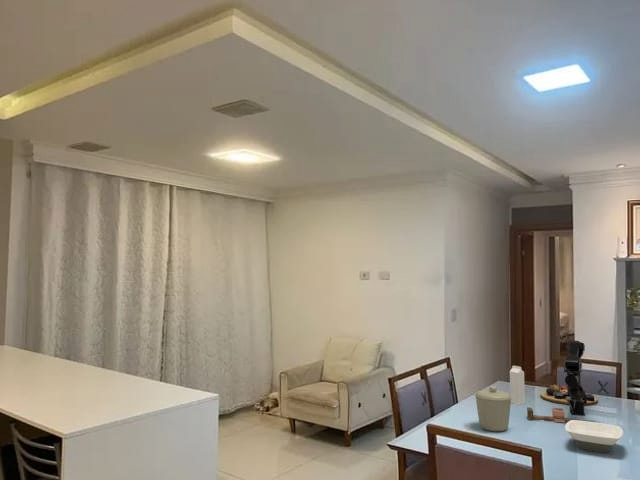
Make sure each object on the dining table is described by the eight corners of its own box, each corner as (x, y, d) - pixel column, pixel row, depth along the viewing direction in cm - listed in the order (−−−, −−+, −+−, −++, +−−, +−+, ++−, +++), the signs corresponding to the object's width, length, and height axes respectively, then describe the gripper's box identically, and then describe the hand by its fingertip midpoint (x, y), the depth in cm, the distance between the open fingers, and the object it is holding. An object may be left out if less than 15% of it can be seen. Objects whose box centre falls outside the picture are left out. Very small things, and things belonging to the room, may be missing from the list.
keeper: (562, 419, 269) (562, 408, 269) (564, 422, 263) (564, 411, 263) (552, 418, 271) (552, 407, 271) (554, 421, 264) (554, 411, 264)
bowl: (623, 460, 210) (622, 439, 211) (562, 450, 222) (562, 430, 223) (624, 445, 229) (623, 426, 230) (568, 436, 241) (568, 418, 242)
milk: (519, 405, 298) (518, 367, 299) (510, 403, 303) (509, 365, 304) (525, 403, 302) (524, 366, 303) (515, 401, 307) (514, 364, 308)
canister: (499, 422, 264) (499, 381, 266) (520, 433, 247) (519, 389, 248) (468, 424, 260) (467, 382, 262) (487, 435, 243) (486, 390, 244)
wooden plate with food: (603, 408, 292) (603, 393, 293) (544, 403, 302) (543, 389, 302) (591, 396, 323) (590, 383, 324) (537, 392, 332) (537, 380, 333)
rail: (567, 419, 268) (567, 410, 269) (570, 423, 262) (569, 413, 262) (527, 416, 274) (527, 407, 275) (528, 420, 268) (528, 410, 268)
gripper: (555, 384, 261) (556, 415, 260) (596, 387, 255) (597, 418, 254) (552, 380, 271) (553, 410, 270) (591, 382, 266) (592, 413, 265)
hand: (574, 413), depth 265 cm, fingers closed
